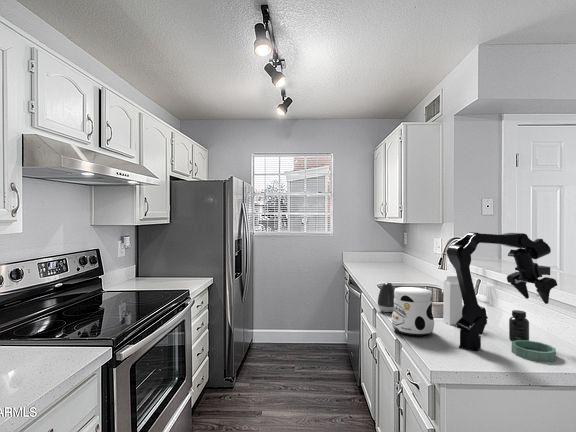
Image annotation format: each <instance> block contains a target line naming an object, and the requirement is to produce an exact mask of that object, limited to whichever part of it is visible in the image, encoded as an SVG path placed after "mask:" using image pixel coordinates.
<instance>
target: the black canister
mask: <svg viewBox="0 0 576 432" xmlns="http://www.w3.org/2000/svg"><path fill="white" fill-rule="evenodd" d="M394 290H395V287H394V286H393V284H392V282H385V283H383V284H382V285H381V287H380V290H379V293H378V296H377V297H378V298H377V306H378V309H379V310H380V311H381V312H383V313H385V312H392V313H393V311H394Z"/></svg>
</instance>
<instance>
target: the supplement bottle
mask: <svg viewBox="0 0 576 432" xmlns="http://www.w3.org/2000/svg"><path fill="white" fill-rule="evenodd" d="M508 331H509V332H508V333H509V335H508V337H509V341H510V342H512V341H516V340H529V341H530V321H529V320H528V319H527V312H526V311H524V310H520V309H518V310H517V309H513V310H512V311H511V317H510V318H509V319H508Z"/></svg>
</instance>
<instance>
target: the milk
mask: <svg viewBox="0 0 576 432" xmlns="http://www.w3.org/2000/svg"><path fill="white" fill-rule="evenodd" d="M442 307H443V310H442V311H443V312H442V313H443V323H446V324H448V325H450V326H454V325H455V326H457V325H456V323H457V321H458V320H459V319H460V318H461V317H462V309H463V299H462V295H461V290H460V286H459V282H458V278H457V275H455V276H454V275H453V276H452V275H447V276H446V279H445V280H444V281H443V306H442Z"/></svg>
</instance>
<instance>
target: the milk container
mask: <svg viewBox="0 0 576 432" xmlns="http://www.w3.org/2000/svg"><path fill="white" fill-rule="evenodd" d="M394 289H395V290H394V311H393V312H392V314H391V324H392V328H393V329H394V330H395V331H397V332H398V333H401V334H404V335H408V336H421V337H422V336H427V335H430V334H431V333H433V331H434V329H435V320H434V315H433V292H432V290H429V289H427V288H421V287H416V286H415V287H413V286H412V287H411V286H401V287H399V286H398V287H396V288H395V287H394Z"/></svg>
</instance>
